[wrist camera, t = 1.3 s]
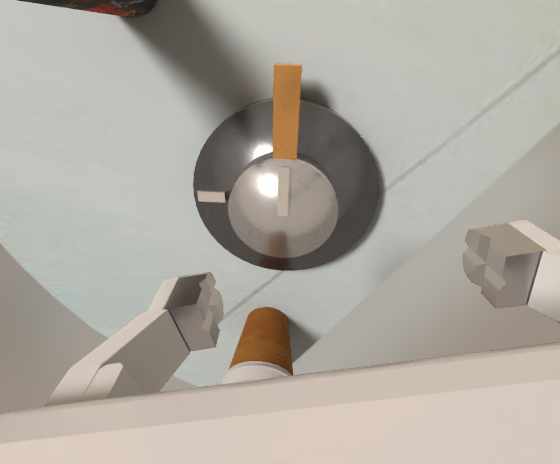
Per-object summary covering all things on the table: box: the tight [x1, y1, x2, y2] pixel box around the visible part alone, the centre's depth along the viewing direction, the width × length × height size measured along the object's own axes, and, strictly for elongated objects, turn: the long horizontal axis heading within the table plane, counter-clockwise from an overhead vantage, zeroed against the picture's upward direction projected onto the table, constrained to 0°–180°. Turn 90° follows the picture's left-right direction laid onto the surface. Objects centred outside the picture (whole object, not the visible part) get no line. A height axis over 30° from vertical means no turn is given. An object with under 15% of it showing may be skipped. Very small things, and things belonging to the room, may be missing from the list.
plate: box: [193, 99, 378, 270], centre depth 33 cm, size 20×20×2 cm
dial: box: [228, 63, 338, 258], centre depth 29 cm, size 18×11×3 cm, turn 179°
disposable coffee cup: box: [221, 307, 293, 384], centre depth 41 cm, size 10×10×12 cm
